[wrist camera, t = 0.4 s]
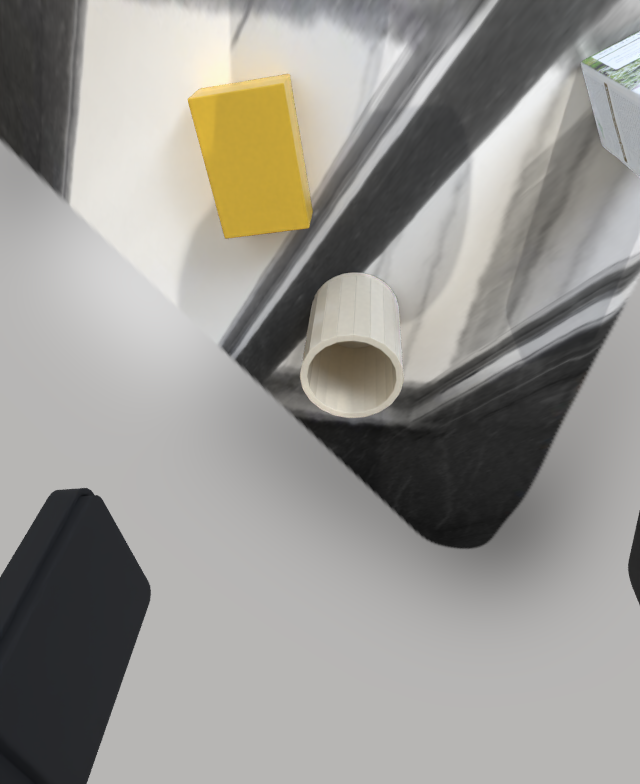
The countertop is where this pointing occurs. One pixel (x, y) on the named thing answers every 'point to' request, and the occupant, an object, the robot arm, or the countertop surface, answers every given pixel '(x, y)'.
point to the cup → (353, 347)
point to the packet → (253, 155)
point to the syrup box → (617, 98)
